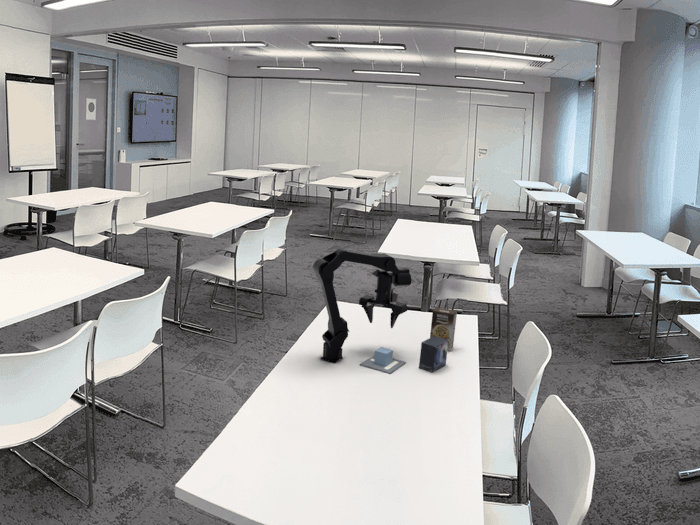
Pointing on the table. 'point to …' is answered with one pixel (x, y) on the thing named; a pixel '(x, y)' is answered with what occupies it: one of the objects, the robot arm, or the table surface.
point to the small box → (433, 353)
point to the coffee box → (444, 325)
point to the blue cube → (383, 356)
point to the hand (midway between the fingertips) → (381, 325)
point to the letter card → (387, 369)
